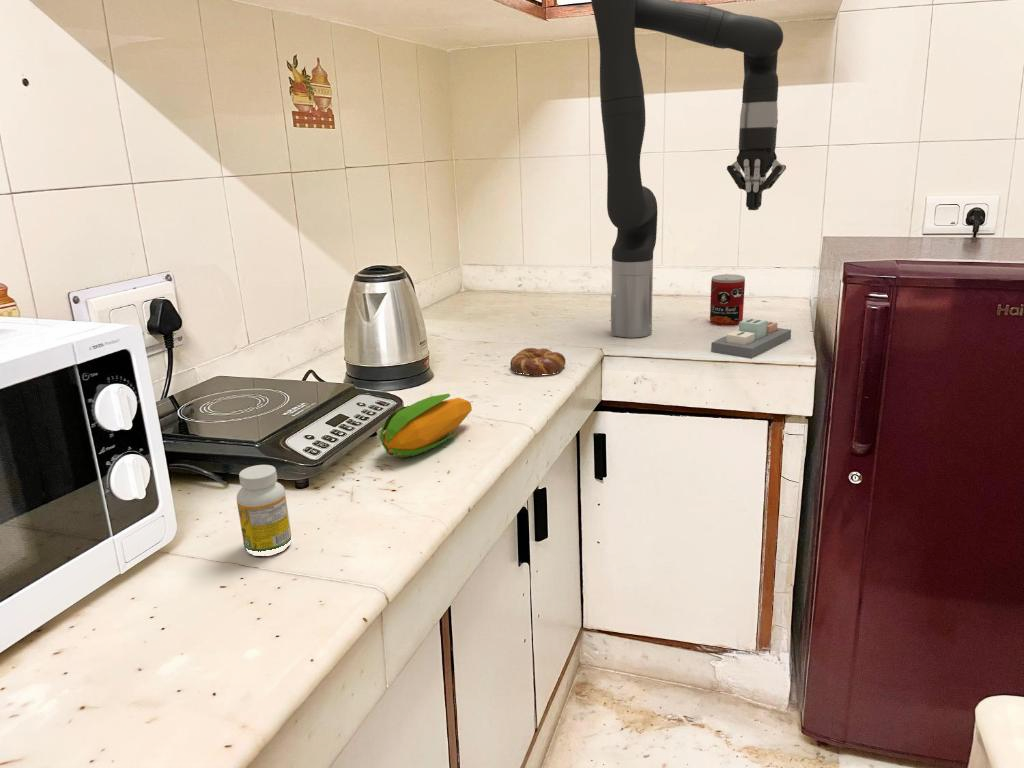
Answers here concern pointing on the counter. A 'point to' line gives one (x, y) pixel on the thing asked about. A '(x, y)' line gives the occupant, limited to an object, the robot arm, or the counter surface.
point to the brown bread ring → (537, 361)
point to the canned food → (727, 299)
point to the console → (751, 344)
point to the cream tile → (740, 338)
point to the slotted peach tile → (771, 327)
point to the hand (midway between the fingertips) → (753, 209)
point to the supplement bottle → (262, 509)
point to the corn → (423, 425)
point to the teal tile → (754, 327)
